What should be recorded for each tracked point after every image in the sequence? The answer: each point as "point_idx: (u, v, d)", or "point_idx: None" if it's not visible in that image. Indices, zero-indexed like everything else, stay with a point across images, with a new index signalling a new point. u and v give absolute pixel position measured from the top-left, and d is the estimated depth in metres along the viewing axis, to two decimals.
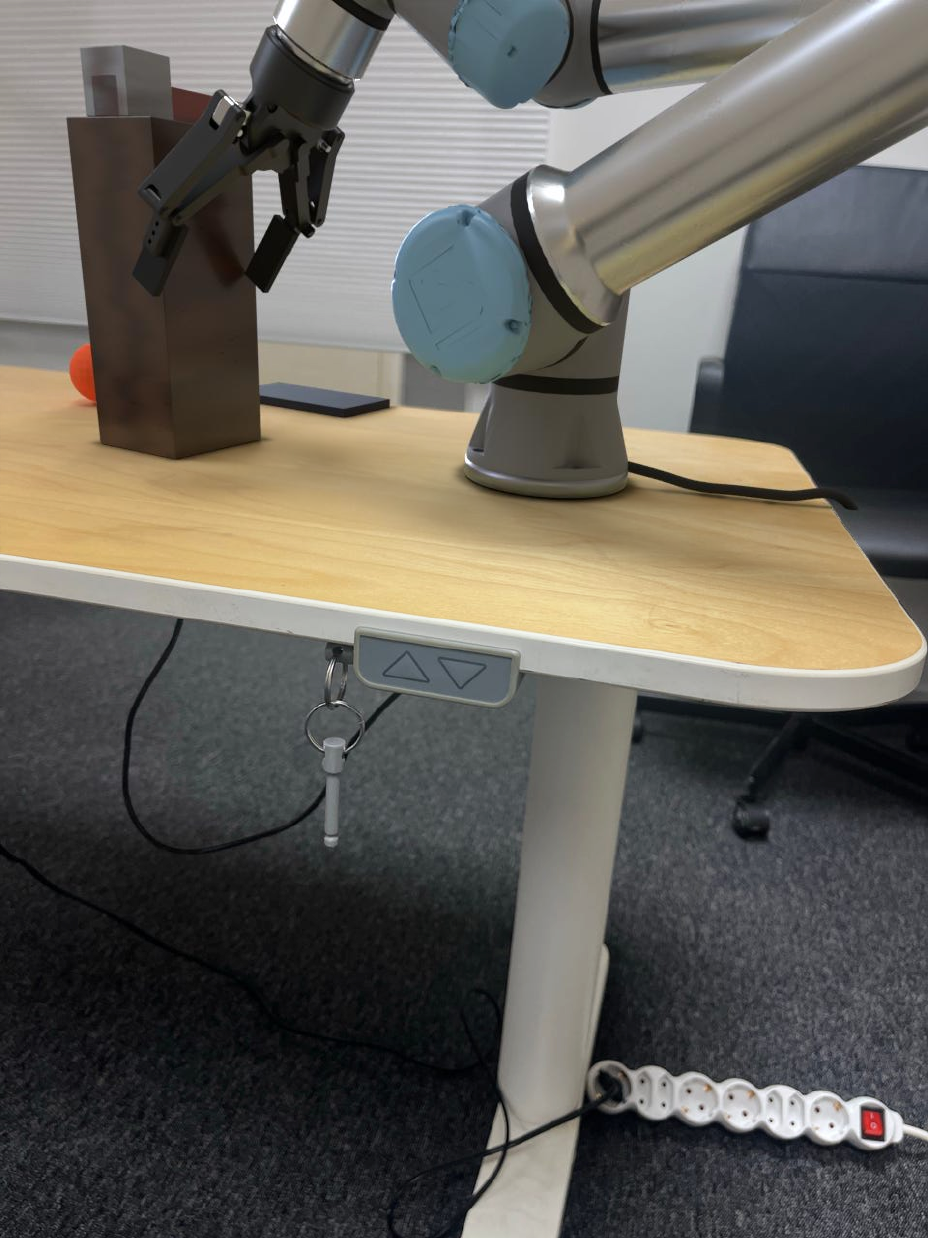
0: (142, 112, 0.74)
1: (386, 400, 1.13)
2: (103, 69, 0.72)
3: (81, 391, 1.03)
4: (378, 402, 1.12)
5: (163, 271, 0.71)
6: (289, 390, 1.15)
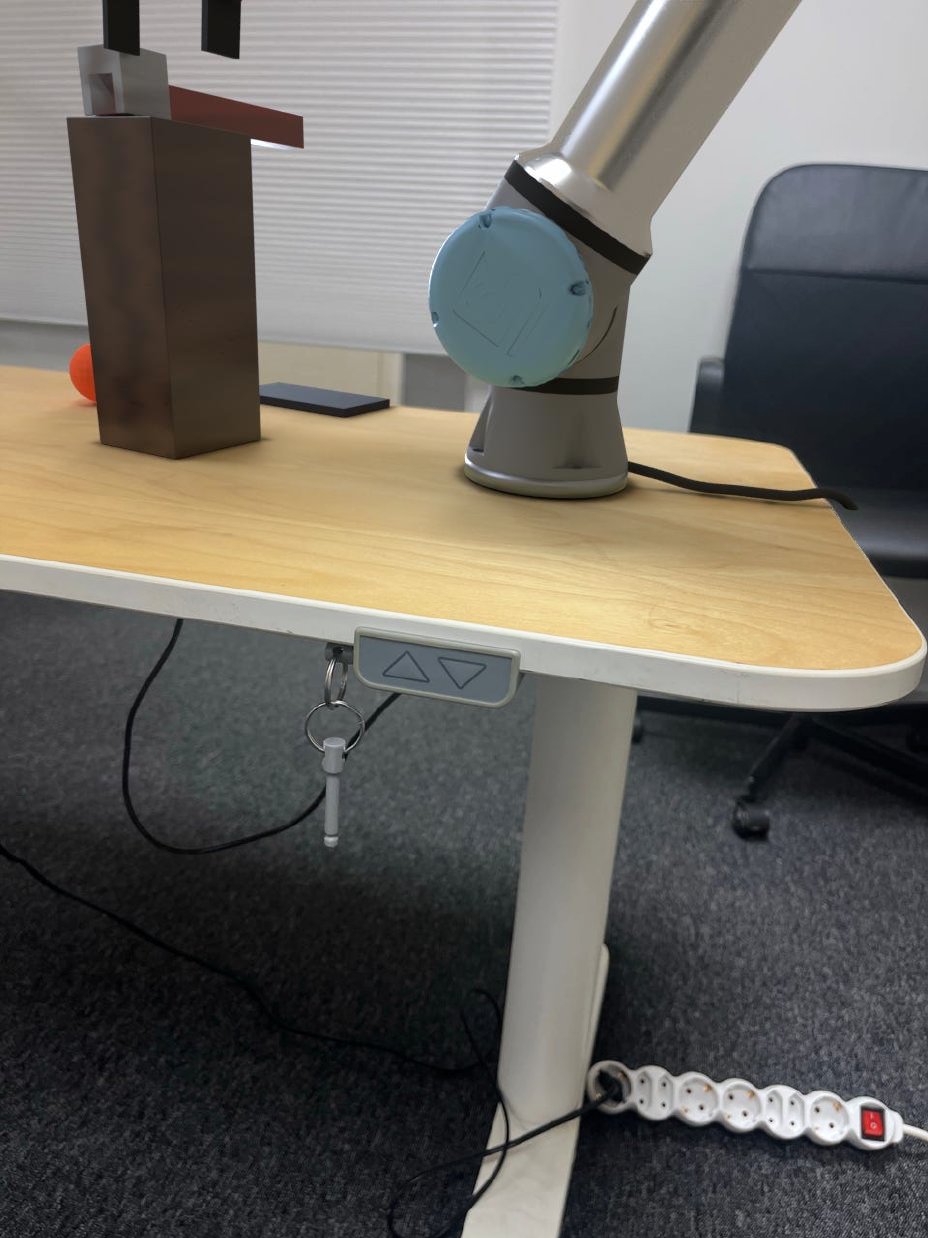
0: (139, 109, 0.74)
1: (386, 400, 1.13)
2: (100, 67, 0.72)
3: (81, 391, 1.03)
4: (378, 402, 1.12)
5: (239, 19, 0.63)
6: (289, 390, 1.15)
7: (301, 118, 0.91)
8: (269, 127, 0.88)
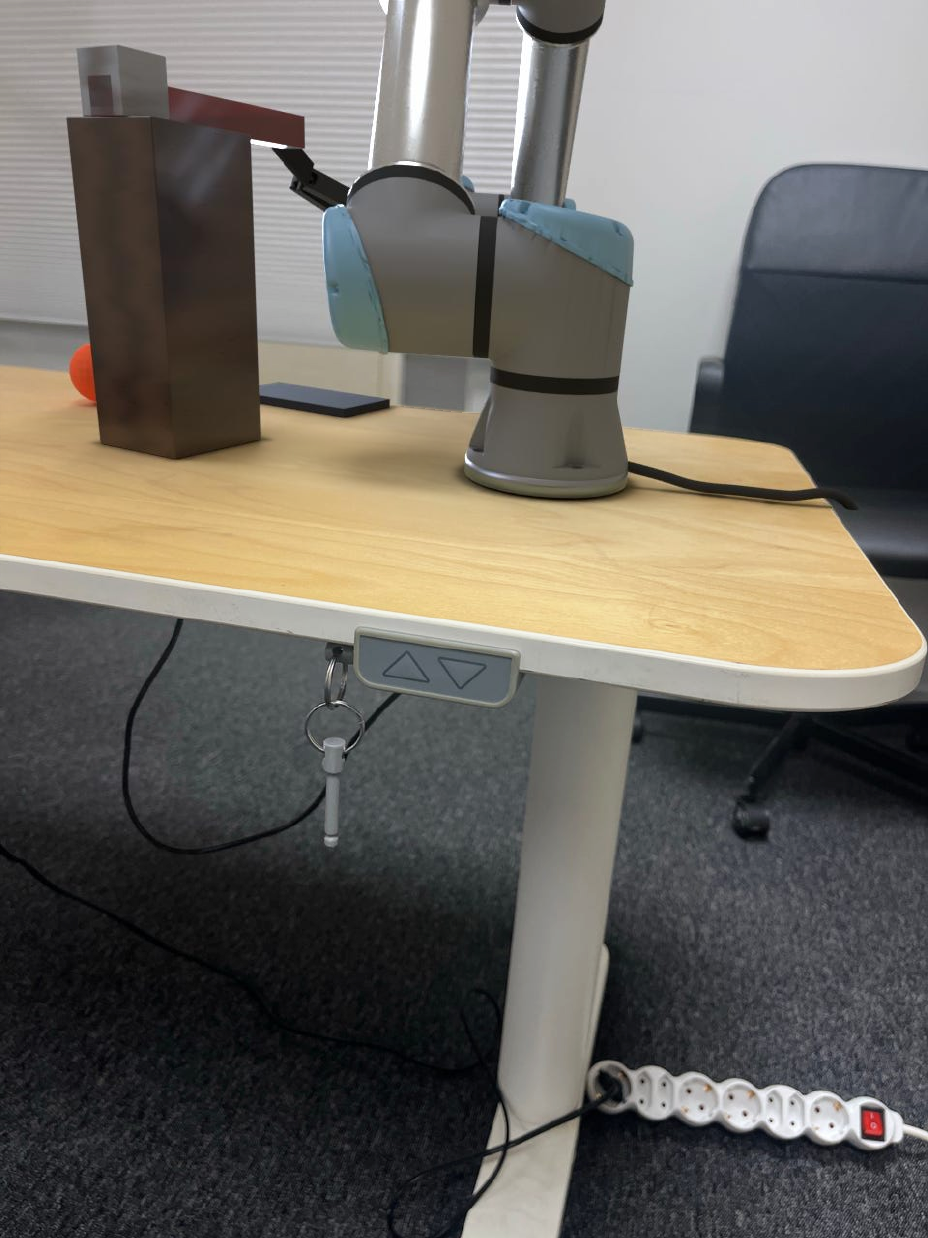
0: (137, 112, 0.74)
1: (386, 400, 1.13)
2: (99, 69, 0.72)
3: (81, 391, 1.03)
4: (378, 402, 1.12)
5: None
6: (289, 390, 1.15)
7: (302, 118, 0.91)
8: (270, 127, 0.88)
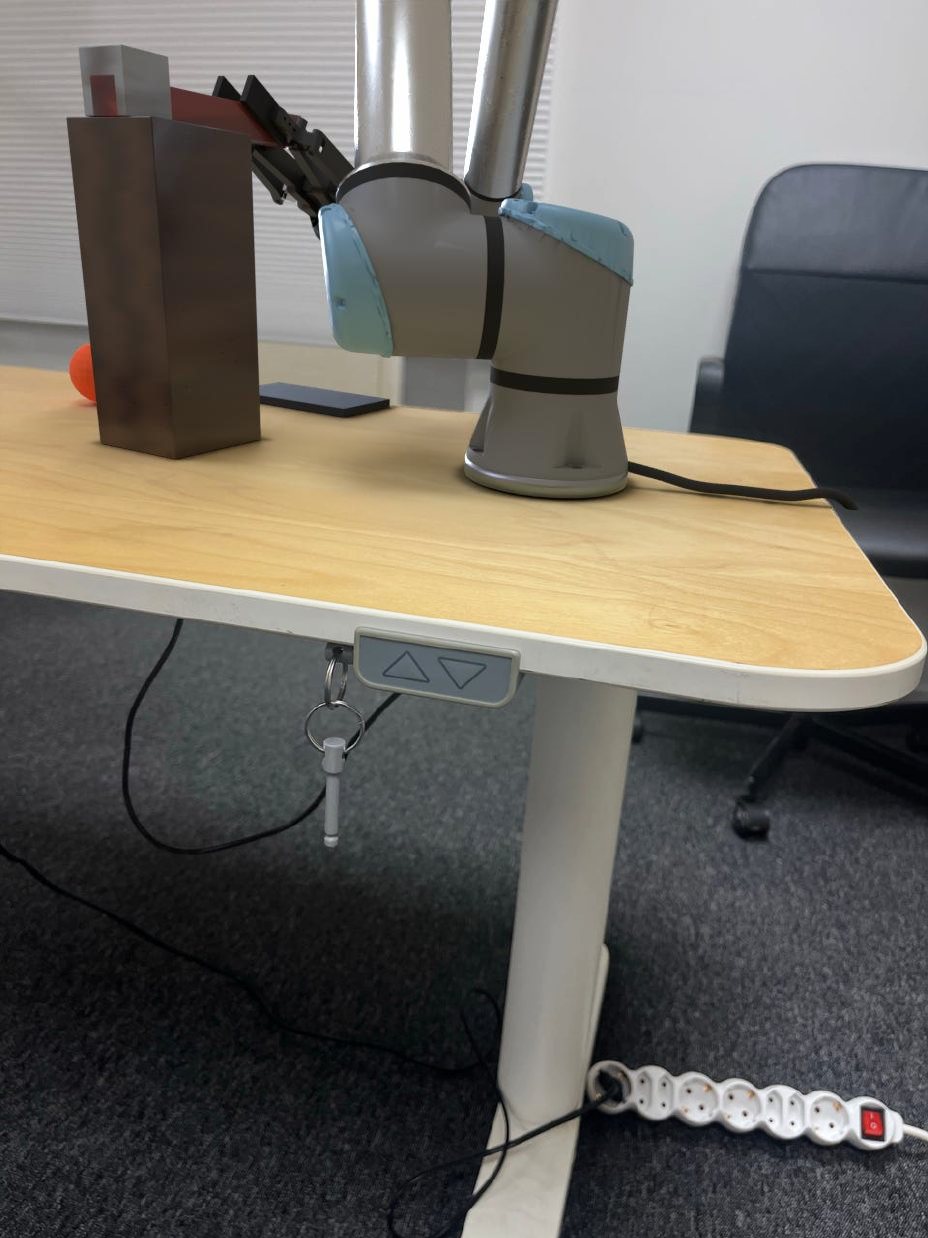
0: (140, 112, 0.74)
1: (386, 400, 1.13)
2: (102, 68, 0.72)
3: (81, 391, 1.03)
4: (378, 402, 1.12)
5: (260, 118, 0.86)
6: (289, 390, 1.15)
7: None
8: None
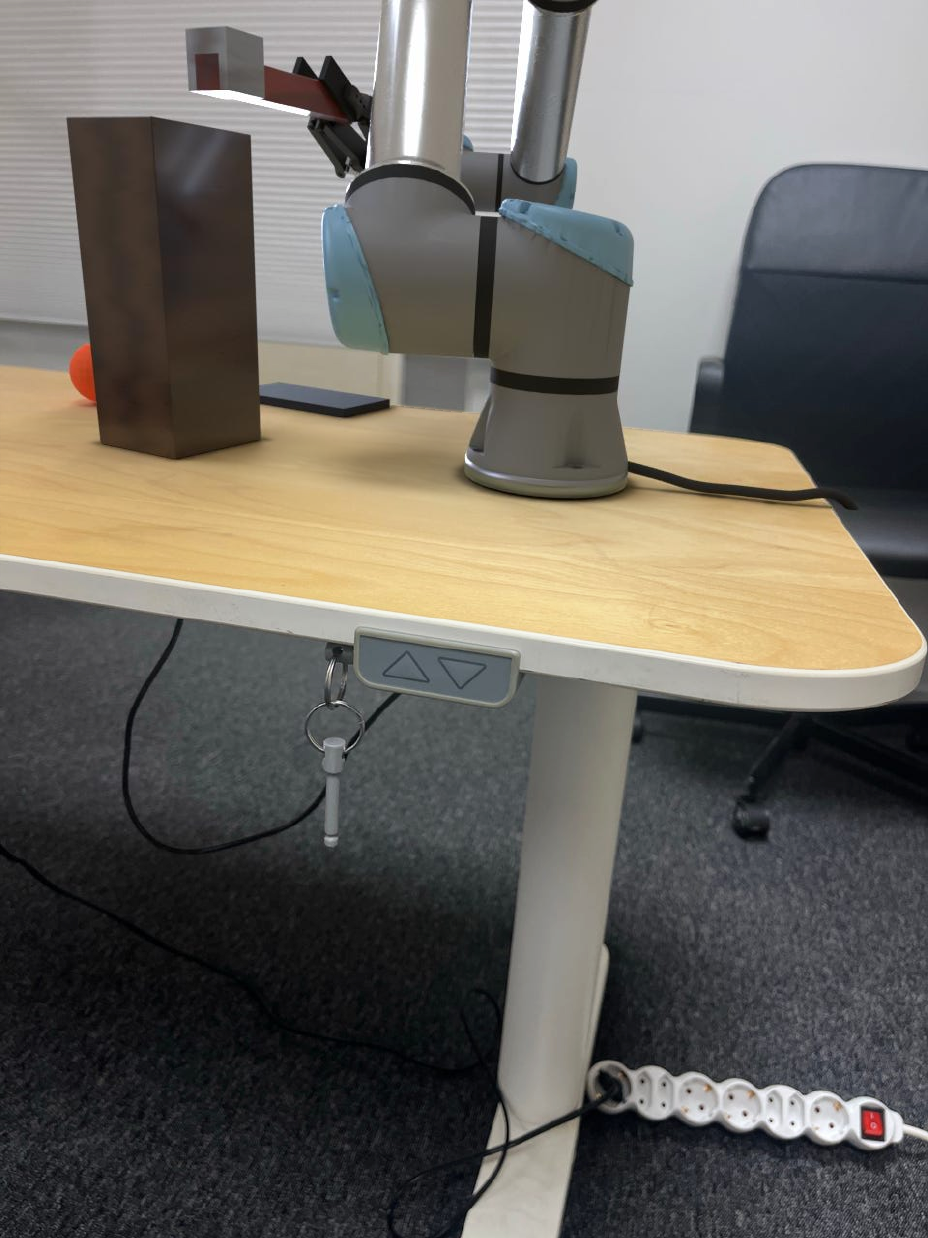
0: (240, 87, 0.82)
1: (386, 400, 1.13)
2: (207, 48, 0.81)
3: (81, 391, 1.03)
4: (378, 402, 1.12)
5: (335, 95, 0.94)
6: (289, 390, 1.15)
7: None
8: None
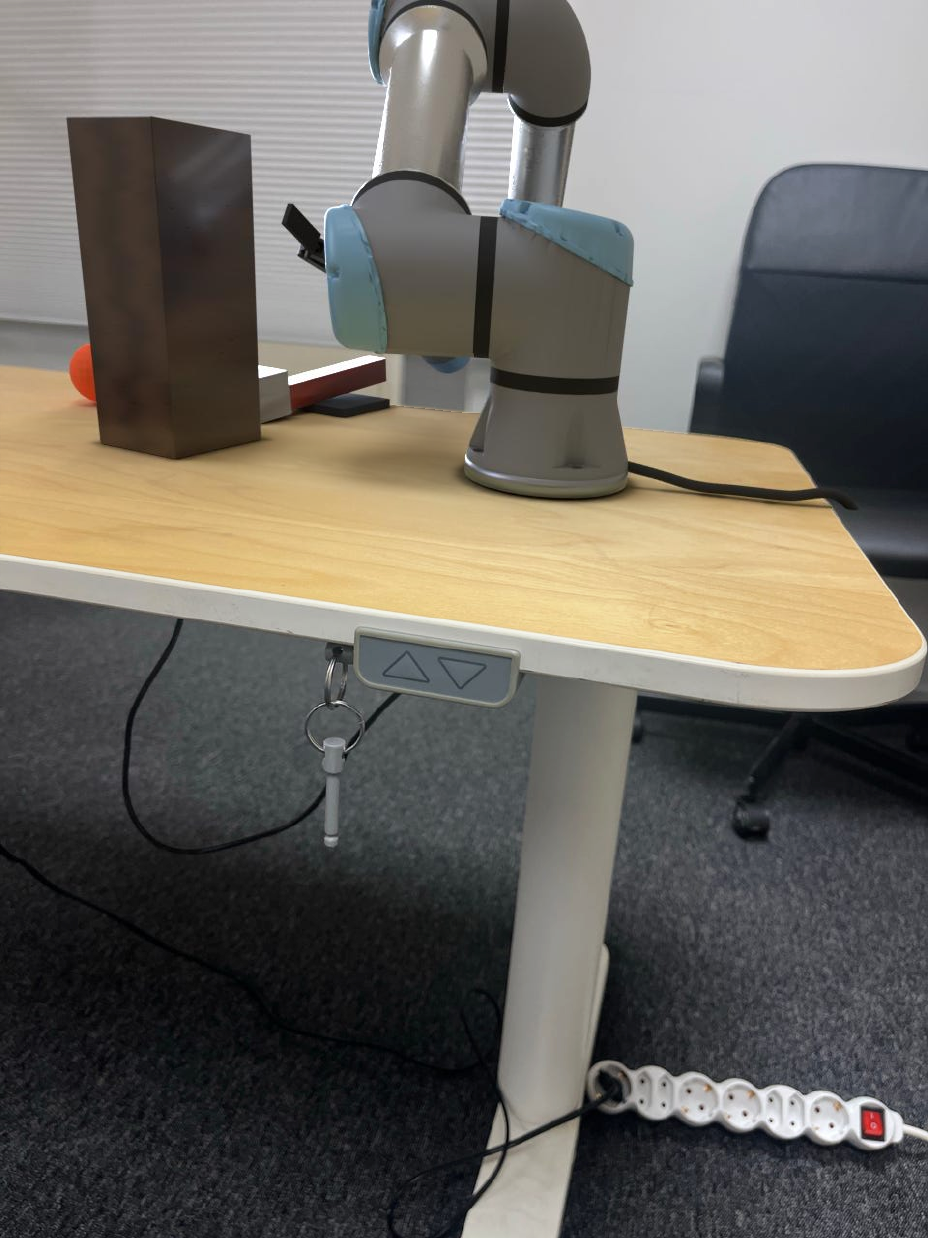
0: (270, 417, 1.01)
1: (386, 400, 1.13)
2: None
3: (81, 391, 1.03)
4: (378, 402, 1.12)
5: None
6: None
7: (384, 360, 1.16)
8: (360, 378, 1.13)
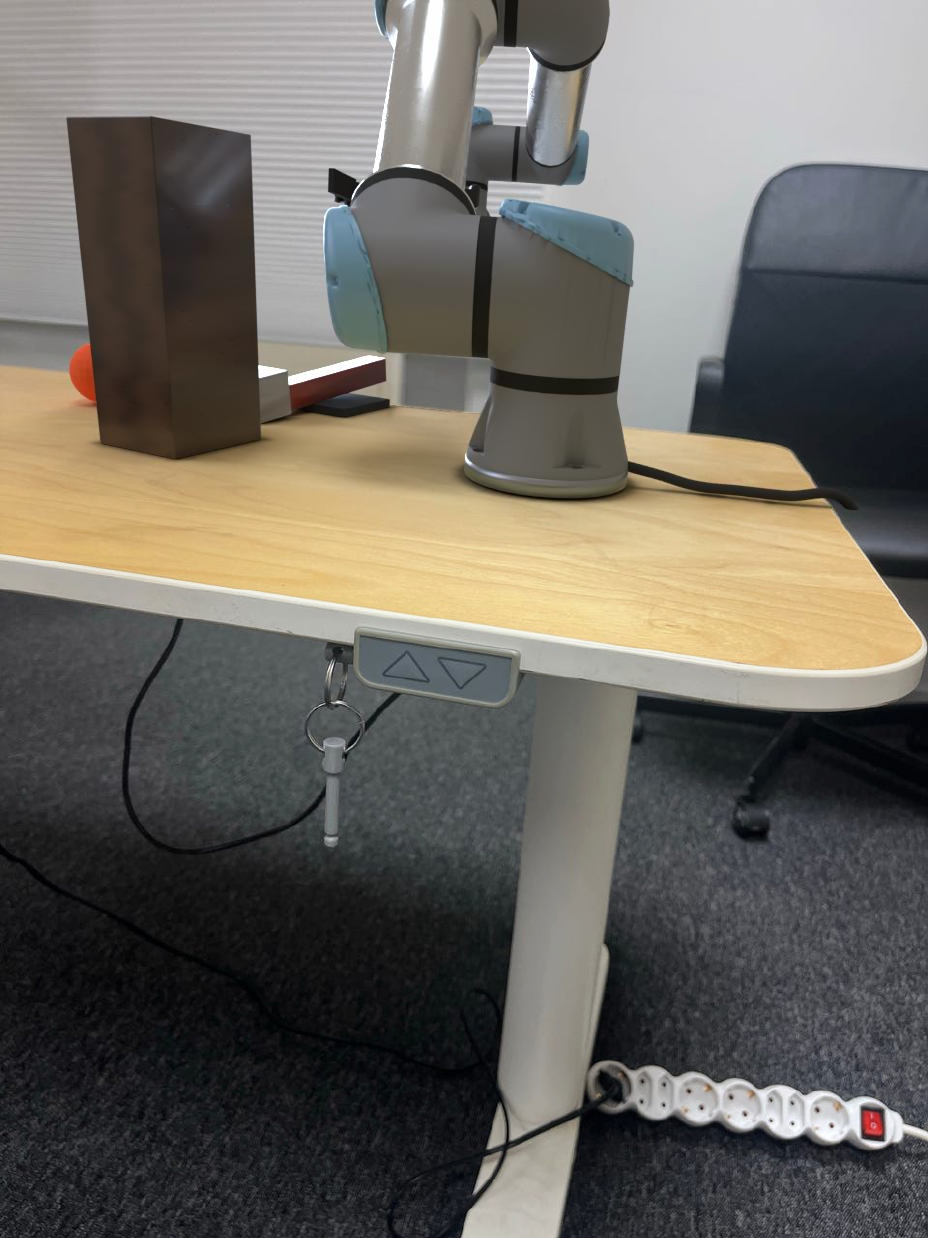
0: (270, 417, 1.01)
1: (386, 400, 1.13)
2: None
3: (81, 391, 1.03)
4: (378, 402, 1.12)
5: None
6: None
7: (384, 360, 1.16)
8: (360, 378, 1.13)
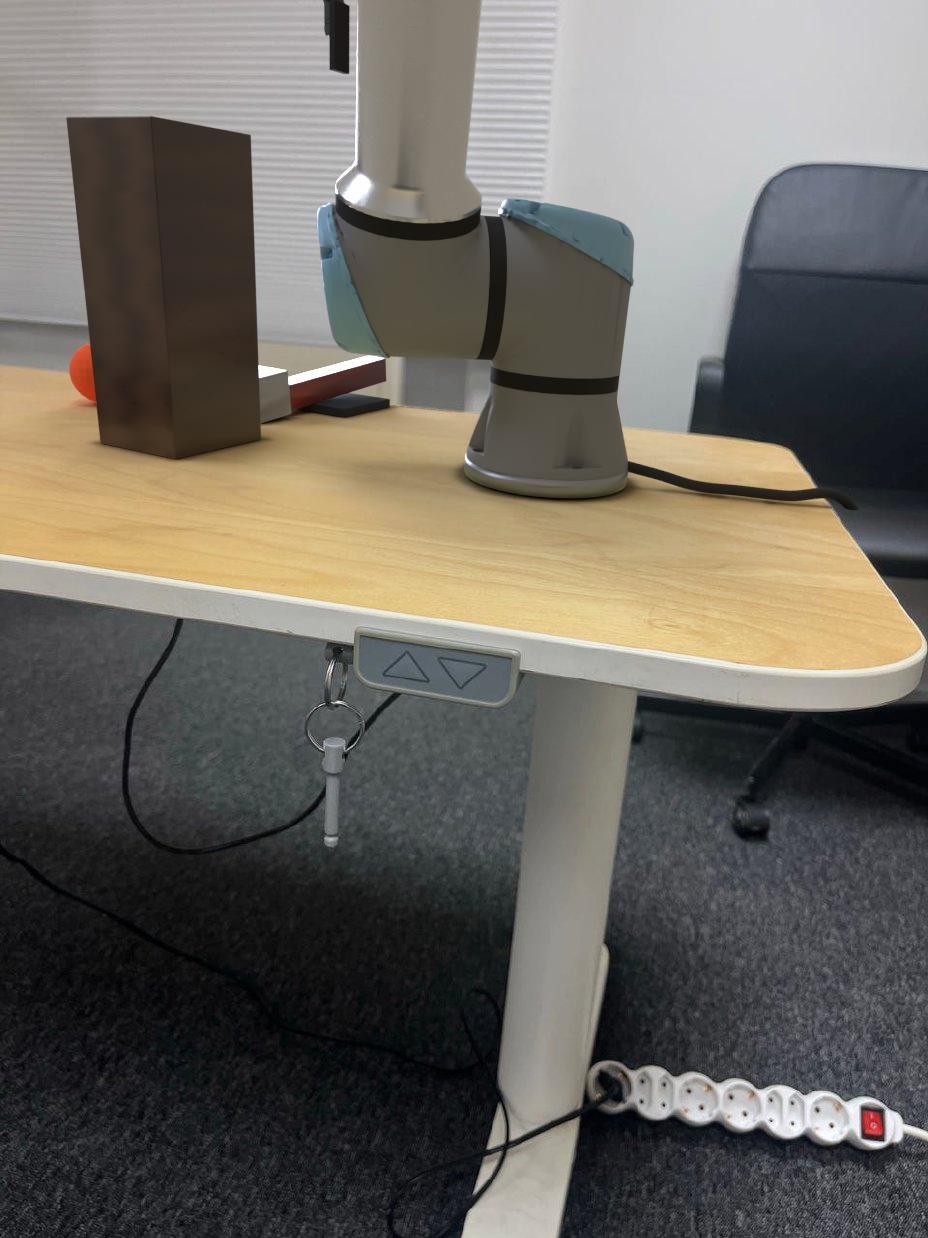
0: (270, 417, 1.01)
1: (386, 400, 1.13)
2: None
3: (81, 391, 1.03)
4: (378, 402, 1.12)
5: None
6: None
7: (384, 360, 1.16)
8: (360, 378, 1.13)
